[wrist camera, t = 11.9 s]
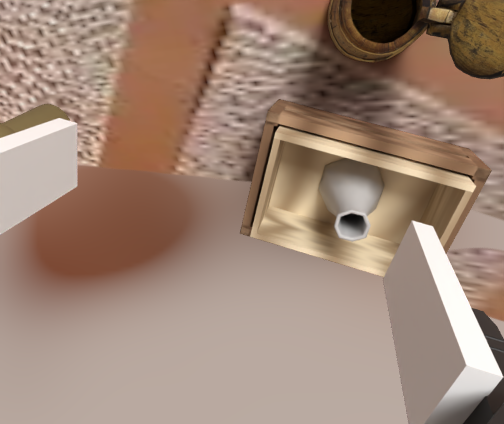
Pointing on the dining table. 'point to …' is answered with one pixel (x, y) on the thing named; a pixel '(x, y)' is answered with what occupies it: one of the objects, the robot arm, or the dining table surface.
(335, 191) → the flask
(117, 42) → the dining table surface
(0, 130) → the cork
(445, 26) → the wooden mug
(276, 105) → the wooden drawer box
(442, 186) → the pine crate
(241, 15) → the dining table surface
